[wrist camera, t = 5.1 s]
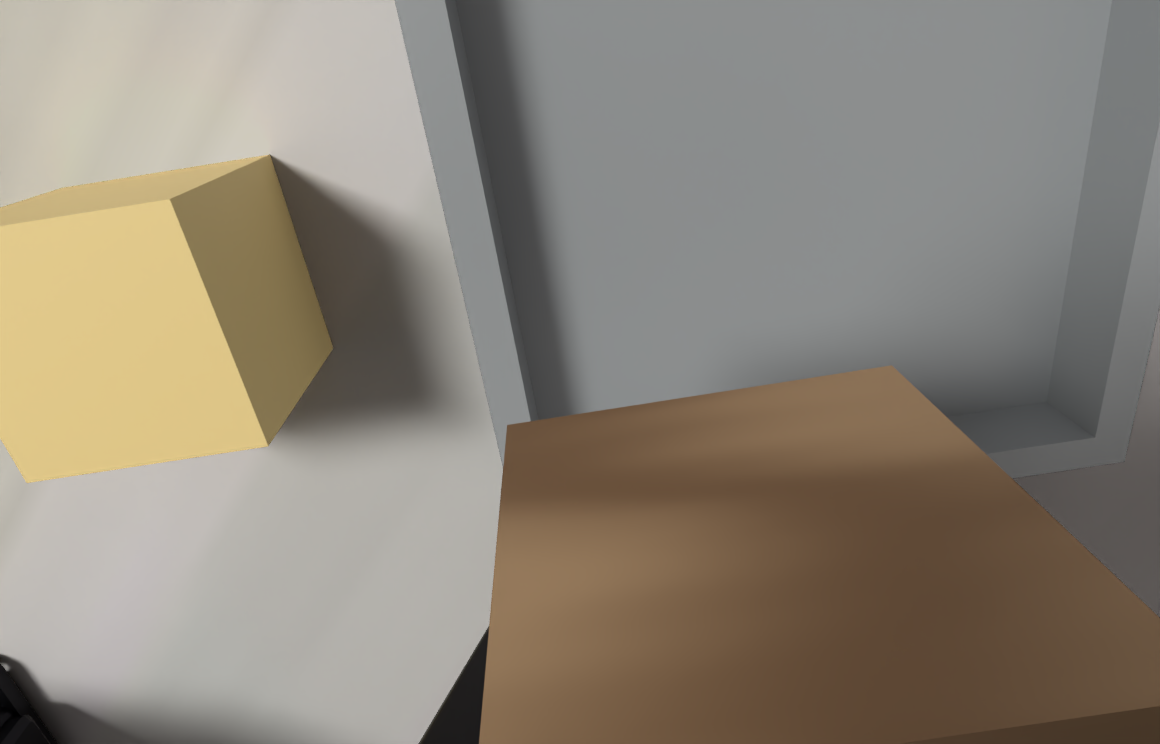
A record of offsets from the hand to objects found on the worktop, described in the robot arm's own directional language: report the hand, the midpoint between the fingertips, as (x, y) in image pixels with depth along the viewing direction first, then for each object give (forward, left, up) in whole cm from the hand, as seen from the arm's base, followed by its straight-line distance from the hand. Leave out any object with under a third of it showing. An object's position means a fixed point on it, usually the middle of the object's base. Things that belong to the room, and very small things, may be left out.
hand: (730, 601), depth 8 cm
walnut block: (0, 0, -1) cm, 1 cm away
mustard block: (-9, +3, -10) cm, 14 cm away
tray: (+4, +4, -9) cm, 11 cm away
